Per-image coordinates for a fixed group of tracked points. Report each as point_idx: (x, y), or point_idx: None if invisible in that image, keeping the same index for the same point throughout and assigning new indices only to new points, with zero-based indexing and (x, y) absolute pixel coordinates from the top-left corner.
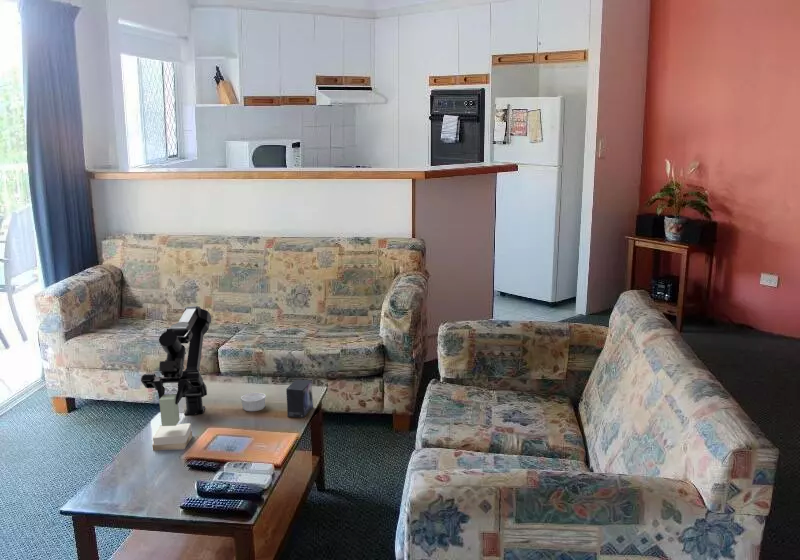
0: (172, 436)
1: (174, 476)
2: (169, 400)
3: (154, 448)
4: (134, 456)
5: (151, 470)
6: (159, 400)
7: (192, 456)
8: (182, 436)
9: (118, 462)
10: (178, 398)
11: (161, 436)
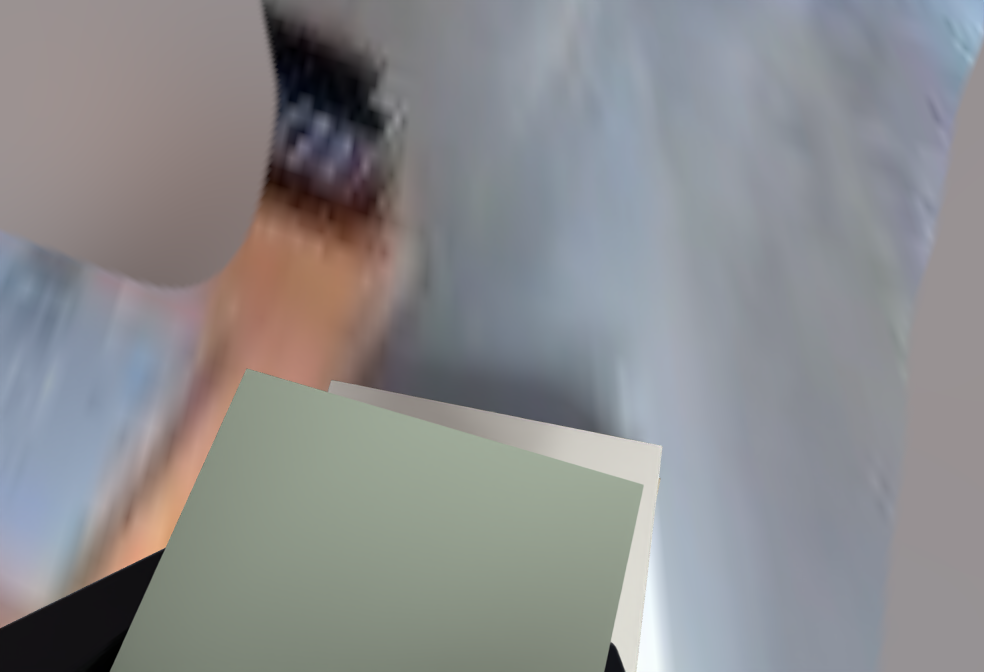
0: (456, 406)
1: (474, 14)
2: (360, 406)
3: None
4: (792, 406)
5: (623, 128)
6: (633, 489)
7: (335, 248)
8: (359, 388)
9: (904, 333)
10: (111, 578)
11: (571, 450)
